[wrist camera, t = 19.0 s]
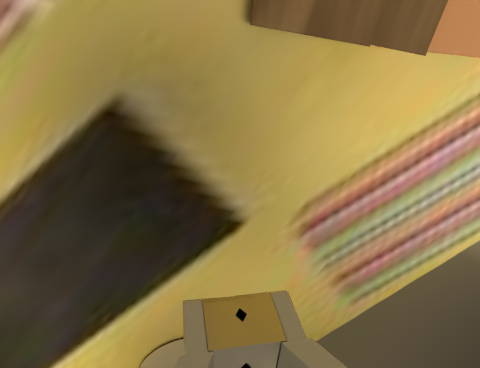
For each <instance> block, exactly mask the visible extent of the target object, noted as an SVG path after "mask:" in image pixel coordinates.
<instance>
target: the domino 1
mask: <svg viewBox="0 0 480 368" xmlns="http://www.w3.org/2000/svg"><path fill="white" fill-rule="evenodd" d="M383 2H384V0H254V3H253V9H252V16H251V23H250V25H255V26H260V27H266V28H271V29H277V30H282V31H288V32H293V33H299V34H304V35H310V36H315V37H321V38H326V39H331V40H337V41H342V42H348V43H353V44H359V45H364V46H370V44H371V41H372V38H373V34H374V31H375V28H376V25H377V21H378V18H379V15H380V12H381V9H382V5H383Z"/></svg>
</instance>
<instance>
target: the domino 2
mask: <svg viewBox="0 0 480 368" xmlns="http://www.w3.org/2000/svg"><path fill="white" fill-rule="evenodd" d="M447 2H448V0H384V2H383V5H382V9H381V12H380V15H379V18H378V21H377V25H376V28H375V31H374V34H373V38H372V41H371V44H370V45H375V46H380V47H385V48H390V49H395V50H400V51H404V52H409V53H414V54H419V55H424V56H425V55H426V53H427V51H428V48H429V46H430V43H431V41H432V38H433V36H434V34H435V31H436V29H437V26H438V24H439V21H440V19H441V17H442V14H443V12H444V9H445V7H446V4H447Z"/></svg>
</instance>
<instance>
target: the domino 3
mask: <svg viewBox="0 0 480 368" xmlns="http://www.w3.org/2000/svg"><path fill="white" fill-rule="evenodd" d="M378 47H380V46H378ZM427 52H433V53H442V54H451V55H460V56H470V57H479V58H480V0H448V2H447V4H446V7H445V9H444V12H443V14H442V17H441V19H440V21H439V24H438V26H437V29H436V31H435V34H434V36H433V38H432V41H431V43H430V46H429V48H428V51H427Z"/></svg>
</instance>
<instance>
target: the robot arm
mask: <svg viewBox="0 0 480 368" xmlns="http://www.w3.org/2000/svg"><path fill="white" fill-rule="evenodd" d="M183 334H184V339H181V340H178V341H174V342H171V343H169V344H166V345H164V346H162V347H160V348H158V349H157V350H155V351H154V352H152V353H151V354H150V355H149V356H148V357H147V358H146V359H145V360H144V361H143V363H142V364H141V366H140V368H347V367H346V366H345V365H344V364H342V363H341V362H340V361H339V360H338V359H336V358H335V357H334V356H333V355H331V354H330V353H329V352H328V351H327V350H325V349H324V348H323V347H322V346H321V345H319V344H318V343H317V342H316V341H314V340H313V339H312V338H311V339H307V338H306V336H305V333H304V331H303V328H302V326H301V323H300V321H299V318H298V316H297V313H296V311H295V308H294V306H293V303H292V301H291V298H290V296H289V293H288V292H287V291H286V290H285V291H275V292H269V293H268V292H264V293H255V294H247V295H238V296H234V297H221V298H208V299H197V300H186V301H183Z"/></svg>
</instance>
